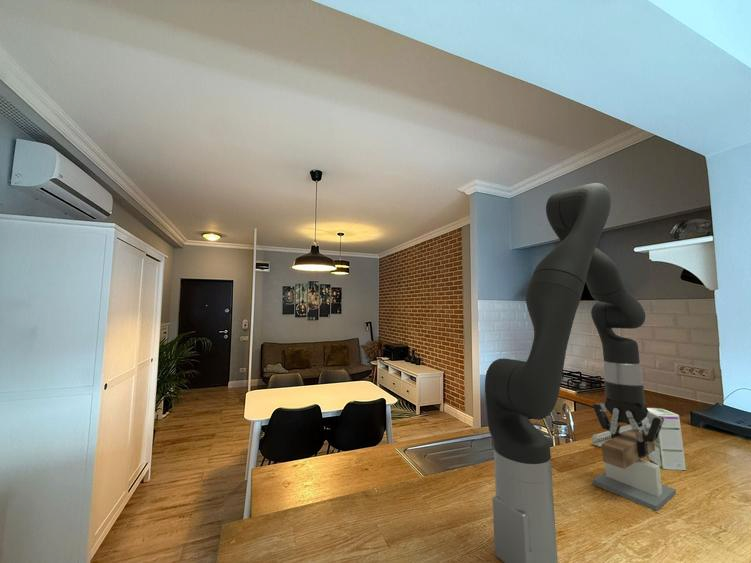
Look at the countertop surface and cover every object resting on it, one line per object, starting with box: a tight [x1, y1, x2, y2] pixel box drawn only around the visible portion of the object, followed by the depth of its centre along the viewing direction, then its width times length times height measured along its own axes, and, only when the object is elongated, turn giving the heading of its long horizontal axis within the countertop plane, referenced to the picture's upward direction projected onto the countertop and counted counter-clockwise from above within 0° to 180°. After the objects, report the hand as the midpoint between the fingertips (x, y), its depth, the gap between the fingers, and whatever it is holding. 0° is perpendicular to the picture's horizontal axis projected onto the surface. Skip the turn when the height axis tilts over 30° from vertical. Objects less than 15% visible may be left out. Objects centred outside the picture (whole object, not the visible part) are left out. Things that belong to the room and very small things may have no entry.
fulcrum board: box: [592, 458, 677, 512], centre depth 72 cm, size 12×12×7 cm
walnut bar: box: [601, 429, 655, 469], centre depth 72 cm, size 18×4×4 cm, turn 121°
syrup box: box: [643, 407, 687, 471], centre depth 83 cm, size 6×6×14 cm
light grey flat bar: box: [590, 420, 645, 448], centre depth 96 cm, size 2×30×8 cm, turn 98°
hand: (629, 452), depth 72 cm, fingers closed on walnut bar, 4 cm apart
